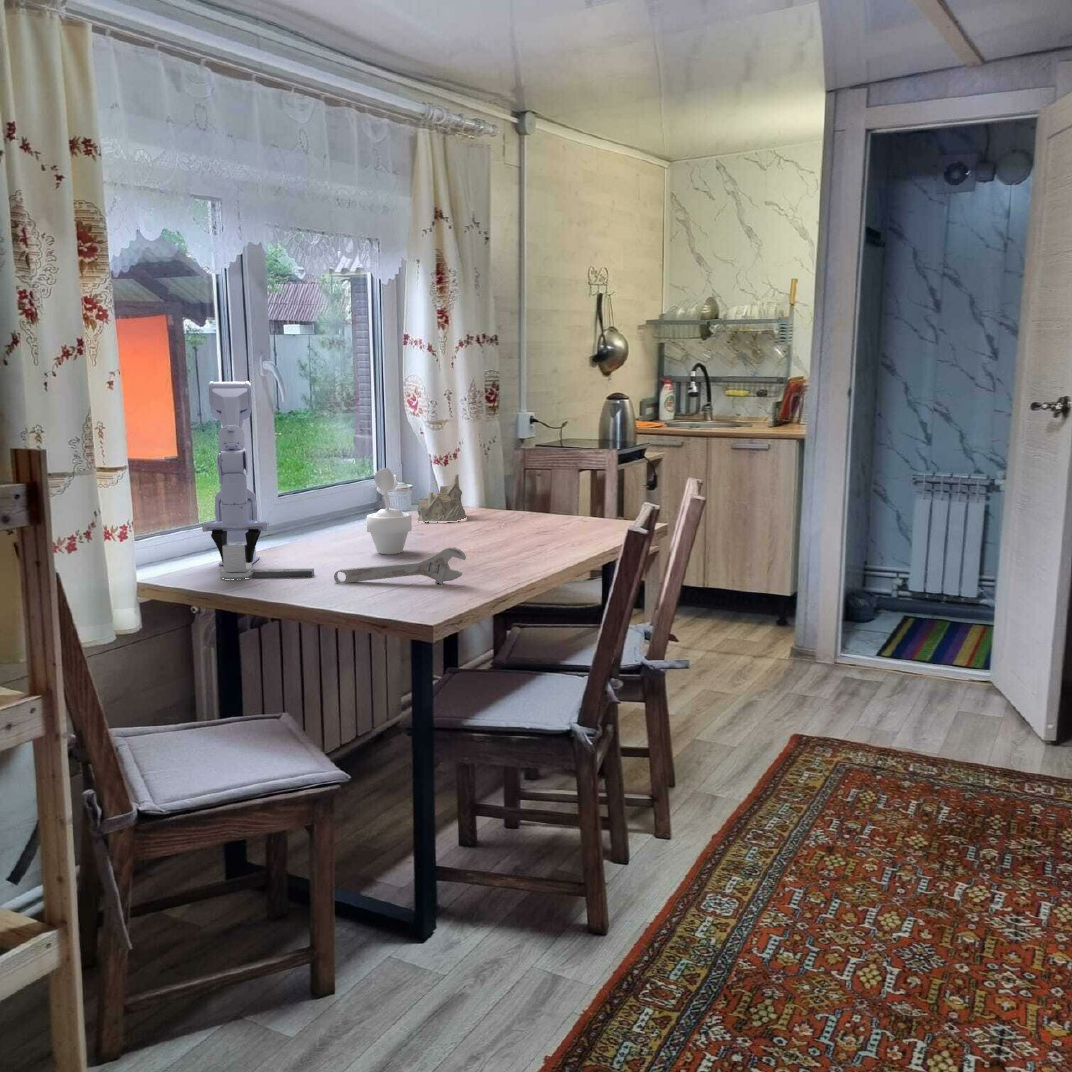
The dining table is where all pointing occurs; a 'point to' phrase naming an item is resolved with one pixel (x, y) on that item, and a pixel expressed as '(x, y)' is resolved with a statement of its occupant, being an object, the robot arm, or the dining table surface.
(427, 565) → the wrench
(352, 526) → the dining table surface
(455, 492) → the ceramic cottage
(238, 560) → the brushed metal cube
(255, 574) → the ratchet
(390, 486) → the potted plant
